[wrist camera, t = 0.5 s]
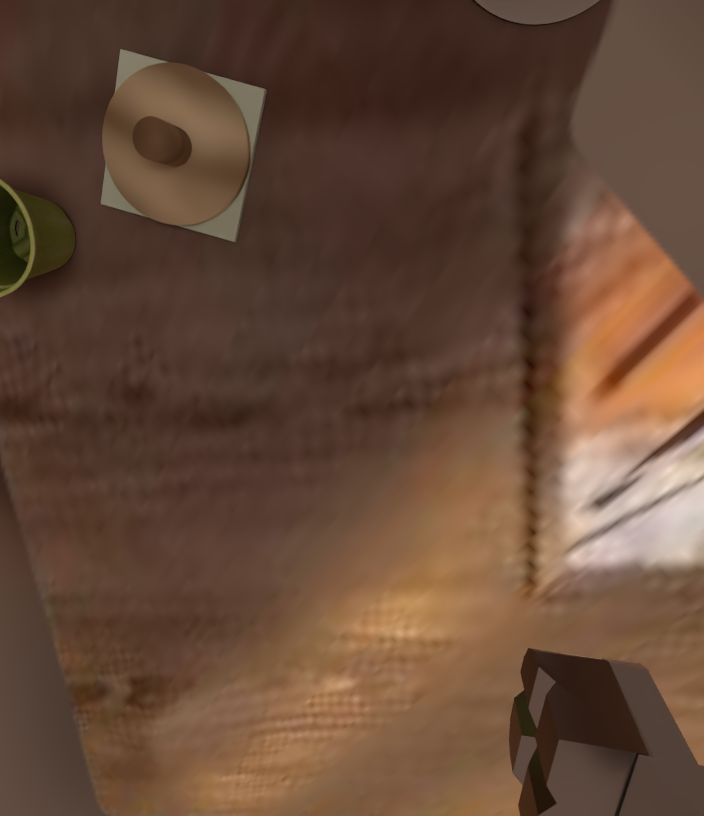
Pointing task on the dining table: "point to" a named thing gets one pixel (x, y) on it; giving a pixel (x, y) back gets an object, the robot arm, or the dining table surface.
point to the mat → (252, 110)
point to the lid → (176, 144)
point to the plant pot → (31, 237)
